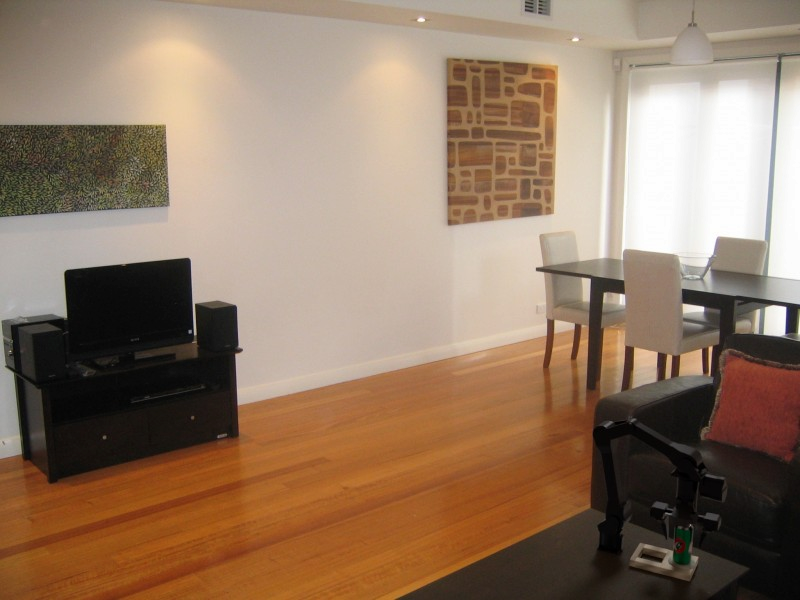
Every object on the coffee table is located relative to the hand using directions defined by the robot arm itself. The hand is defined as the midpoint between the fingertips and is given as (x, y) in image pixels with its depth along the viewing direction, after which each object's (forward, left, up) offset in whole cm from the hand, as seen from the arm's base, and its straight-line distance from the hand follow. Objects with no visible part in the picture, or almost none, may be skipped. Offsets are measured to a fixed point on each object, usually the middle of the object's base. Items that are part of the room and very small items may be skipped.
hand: (683, 543), depth 234 cm
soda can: (0, 0, -6) cm, 6 cm away
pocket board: (-4, 0, -8) cm, 9 cm away
